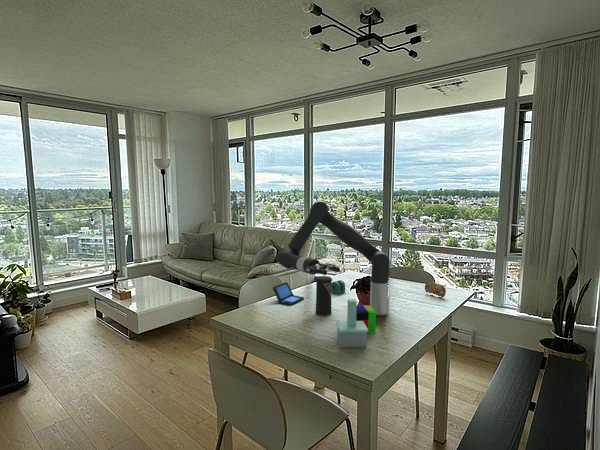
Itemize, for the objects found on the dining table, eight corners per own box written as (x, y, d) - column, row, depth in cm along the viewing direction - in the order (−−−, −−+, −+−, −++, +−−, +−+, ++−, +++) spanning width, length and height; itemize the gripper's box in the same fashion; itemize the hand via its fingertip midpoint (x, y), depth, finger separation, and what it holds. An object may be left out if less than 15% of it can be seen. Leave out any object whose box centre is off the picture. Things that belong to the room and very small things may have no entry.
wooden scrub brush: (424, 293, 222) (424, 280, 221) (427, 292, 223) (428, 280, 222) (442, 299, 208) (443, 286, 208) (446, 299, 210) (447, 285, 209)
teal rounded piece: (345, 293, 222) (345, 281, 221) (338, 295, 217) (338, 283, 216) (325, 287, 235) (325, 276, 234) (318, 289, 230) (318, 277, 230)
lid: (362, 323, 152) (363, 296, 151) (368, 332, 142) (368, 304, 141) (335, 323, 151) (336, 296, 150) (339, 332, 142) (340, 304, 140)
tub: (361, 338, 152) (361, 323, 151) (366, 347, 143) (366, 331, 143) (337, 338, 152) (337, 323, 151) (340, 348, 143) (340, 332, 142)
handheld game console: (291, 306, 195) (291, 290, 194) (272, 302, 202) (272, 287, 201) (305, 299, 208) (305, 284, 207) (286, 295, 215) (286, 281, 214)
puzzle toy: (349, 325, 167) (349, 305, 166) (369, 325, 168) (369, 305, 167) (354, 334, 157) (354, 313, 156) (375, 333, 158) (375, 312, 157)
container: (330, 316, 179) (331, 279, 177) (313, 315, 181) (314, 278, 179) (332, 311, 187) (333, 275, 185) (316, 309, 189) (316, 274, 187)
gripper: (297, 259, 160) (322, 265, 148) (318, 255, 169) (343, 261, 157) (296, 275, 160) (321, 282, 148) (318, 270, 170) (343, 277, 158)
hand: (333, 271), depth 153 cm, fingers open, 8 cm apart
